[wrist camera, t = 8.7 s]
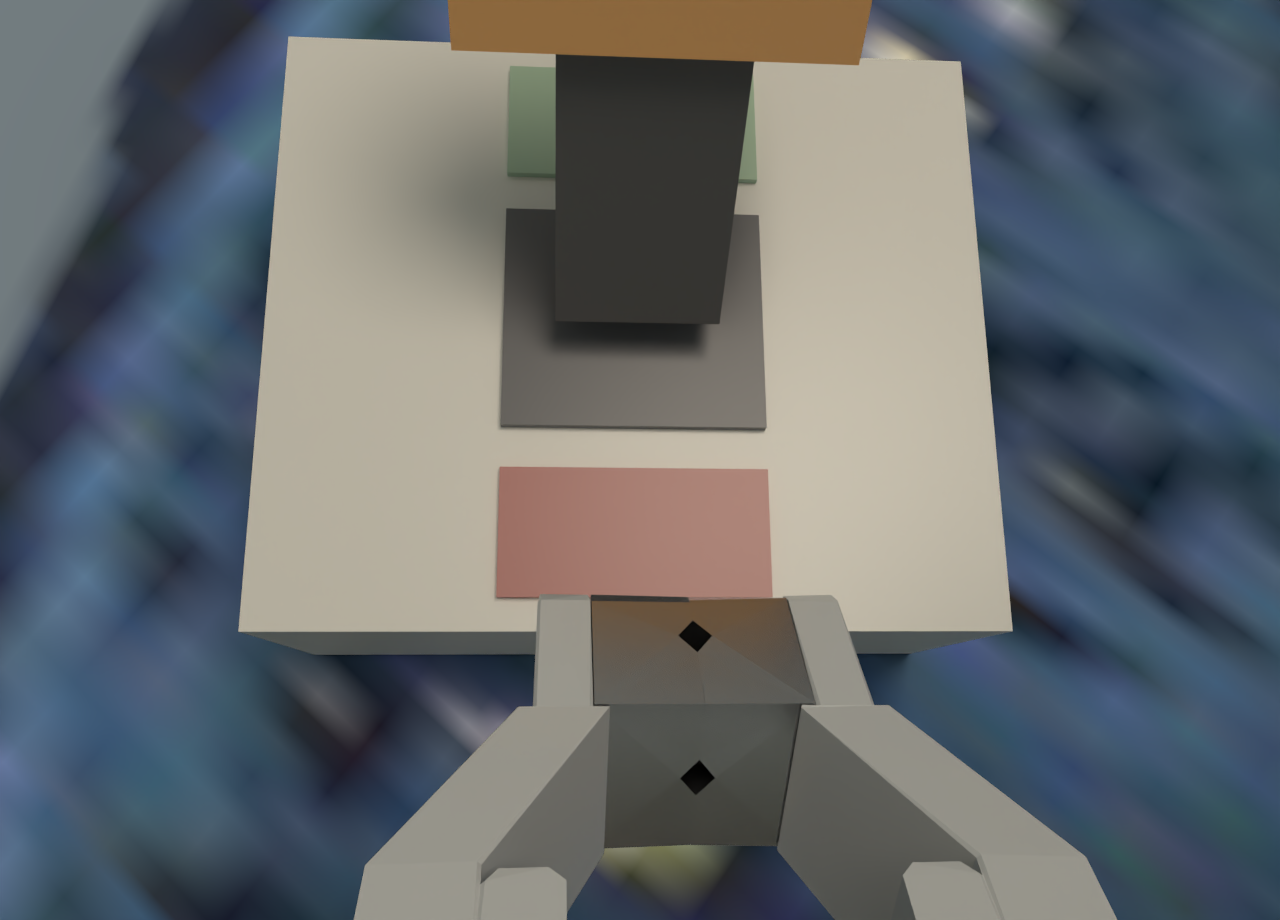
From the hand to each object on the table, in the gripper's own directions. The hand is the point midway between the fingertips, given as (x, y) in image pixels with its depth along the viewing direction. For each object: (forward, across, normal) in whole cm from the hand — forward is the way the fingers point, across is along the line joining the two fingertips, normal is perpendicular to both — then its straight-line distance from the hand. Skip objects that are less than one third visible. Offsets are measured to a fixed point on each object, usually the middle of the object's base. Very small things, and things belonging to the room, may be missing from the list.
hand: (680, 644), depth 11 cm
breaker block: (+15, 0, +5) cm, 16 cm away
